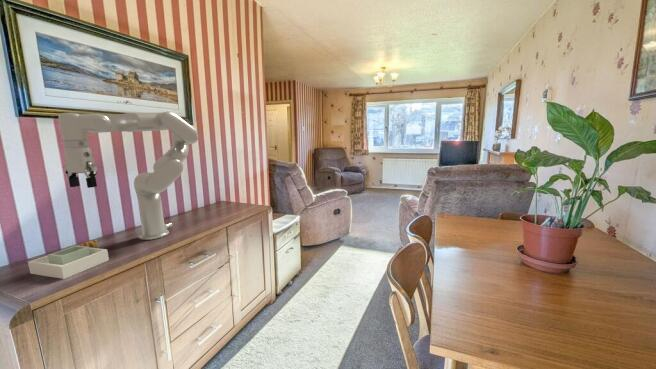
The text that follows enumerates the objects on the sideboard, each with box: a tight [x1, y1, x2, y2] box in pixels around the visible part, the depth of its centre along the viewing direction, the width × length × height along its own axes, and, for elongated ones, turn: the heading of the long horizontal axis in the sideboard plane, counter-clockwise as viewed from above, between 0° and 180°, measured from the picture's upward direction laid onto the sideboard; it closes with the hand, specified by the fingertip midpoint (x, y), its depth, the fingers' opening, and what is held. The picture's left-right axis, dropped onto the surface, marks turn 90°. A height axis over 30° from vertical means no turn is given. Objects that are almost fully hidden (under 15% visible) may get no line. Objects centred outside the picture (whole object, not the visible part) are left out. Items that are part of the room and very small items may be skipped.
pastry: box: [77, 239, 100, 249], centre depth 118 cm, size 9×7×4 cm
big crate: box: [27, 247, 110, 280], centre depth 102 cm, size 15×17×4 cm
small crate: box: [47, 245, 91, 265], centre depth 102 cm, size 9×7×6 cm
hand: (83, 186), depth 111 cm, fingers open, 9 cm apart
